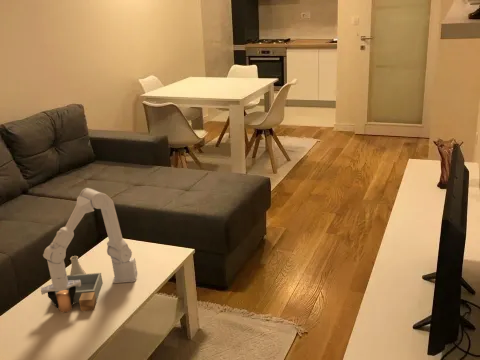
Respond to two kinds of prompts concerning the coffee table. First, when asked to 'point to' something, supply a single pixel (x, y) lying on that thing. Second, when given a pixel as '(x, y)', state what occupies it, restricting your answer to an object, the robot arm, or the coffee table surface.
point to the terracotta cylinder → (64, 301)
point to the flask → (76, 266)
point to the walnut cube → (87, 301)
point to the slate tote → (86, 285)
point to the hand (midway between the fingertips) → (65, 305)
